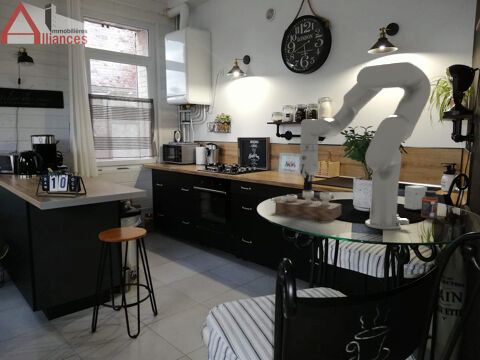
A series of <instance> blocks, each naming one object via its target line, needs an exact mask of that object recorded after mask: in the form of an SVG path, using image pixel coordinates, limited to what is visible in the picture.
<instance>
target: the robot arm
mask: <svg viewBox="0 0 480 360" xmlns="http://www.w3.org/2000/svg"><path fill="white" fill-rule="evenodd" d="M391 88H393V89H394V88H399V89H402V90H403V96H402V97H401V98H400V100H399V102H398V104H397V106H396V109H395V110H394V113H393V114H392V115H389V116H386V117H385V118H384V119H383V120H382V121H381V122H380V123H379V125H378V126H377V128H376V131H375V133H374V135H373V137H372V139H371V141H370V143H369V145H368V148H367V149H366V152H365V157H364V158H365V163H366V166H368V167H369V168H370V169H371V170H372V174H371V177H372V184H371V203H370V202H369V204H370V209H369V219H367V220H365V225H366V226H367V227H369V228H373V229H378V230H385V231H386V230H391V231H392V230H398V229H400V228H401V226H402V225H405V226H409V224H410V220H409V219H407V218H401V217H400V216H399V214H398V197H399V184H400V183H399V182H400V181H399V179H400V172H401V165H402V153H401V150H400V146H401V145H402V143H403V142H406V141H407V140H409V139H410V137H411V136H412V135H413V132H414V130H415V127H416V126H417V124H418V122H419V120H420V118H421V116H422V113H423V111H424V110H425V108H426V105H427V103H428V101H429V99H430V96H431V91H432V90H431V82H430V79H429V77H428V75H427V74H425V72H424V71H423V70H422V69H421V68H420V67H418V66H417V65H415V64H413V63H412V62H409V61H405V60H404V61H395V62H386V63H385V62H384V63H378V64H370V65H366V66H364V67H363V68H361V69H360V70H359V71H358V73H357V76H356V83H355V84H354V85H353V86H352V87H351V88H350V89H349V90H348V91H347V92H346V93H345V94H344V95H343V98H342V99H343V101H342V102H343V103H342V106H341V107H340V109H339V110H338V111H337V113H335V115H333V116H332V117H331V118H328V117H327V118H325V117H324V118H323V117H322V118H317V119H314V118H312V119H311V118H309V119H308V118H305V119H303V120H302V121H301V123H300V149H299V150H300V157H299V158H300V159H299V173H300V175H301V178H302V179H303V191H305V190H306V191H313V190H312V189H313V179H314V178H313V177H314V176H315V175H316V174H318V173H319V155H318V154H319V153H318V152H319V137H323V138H328V137H331V138H332V137H336V136H338V135H339V134H341V133H342V132H343V131H344V130H345V129H346V128H347V127H349V125H351V123H352V122H354V119H355V118H356V117H357V115H358V114H359V113H360V111H361V110H362V109H363V108H364V107H366V105H367V104H368V103H369V102H370V101H372V99H373V98H375V97H377V95H378V94H379V93H380V92H381V91H382V90H384V89H391Z"/></svg>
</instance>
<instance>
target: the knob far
mask: <svg viewBox="0 0 480 360" xmlns="http://www.w3.org/2000/svg"><path fill="white" fill-rule="evenodd" d="M285 199H286V201H288V202H296V201H297V199H298V195H296V194H286V197H285Z"/></svg>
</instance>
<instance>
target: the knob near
mask: <svg viewBox="0 0 480 360" xmlns="http://www.w3.org/2000/svg"><path fill="white" fill-rule="evenodd" d="M319 199H320V200H322V201H321V202H322V206H328V205H329V203H330V200H332V192H326V191H322V192H319Z"/></svg>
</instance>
